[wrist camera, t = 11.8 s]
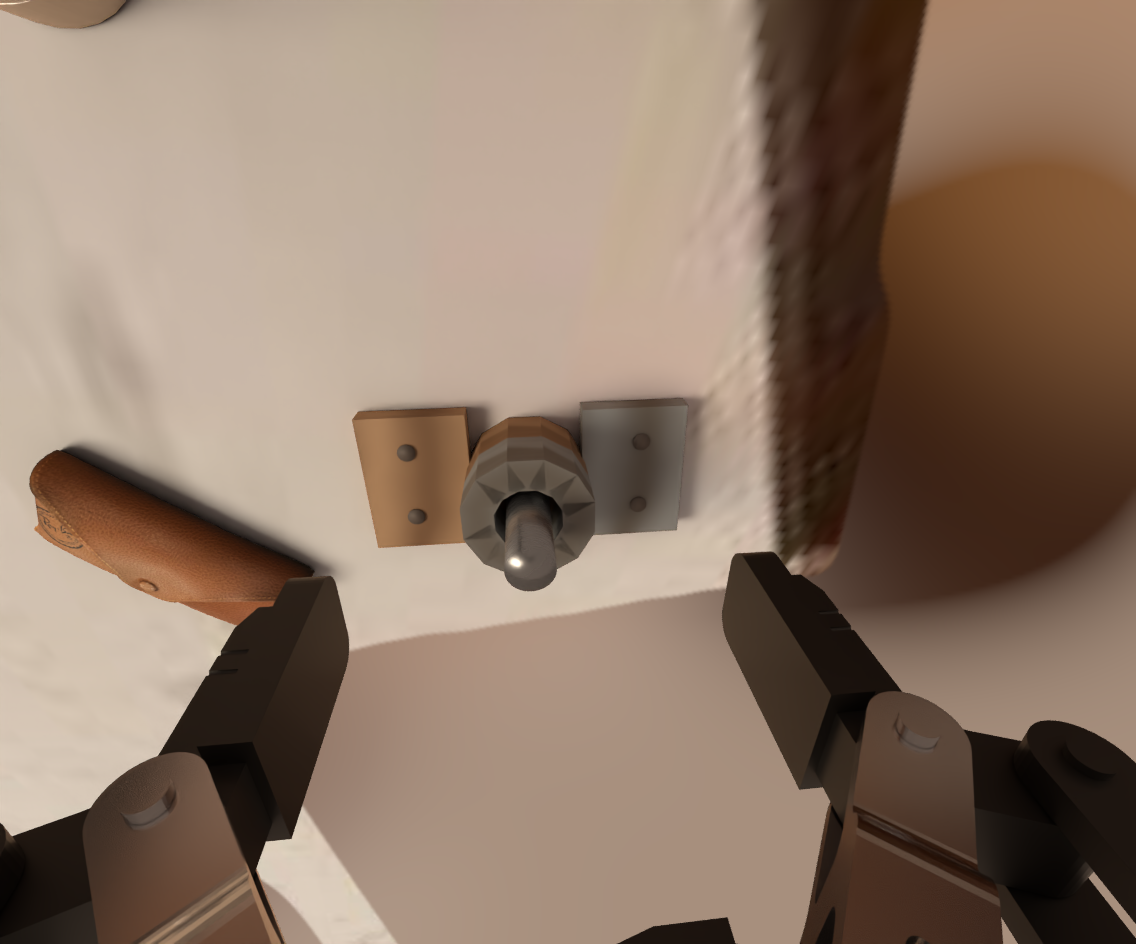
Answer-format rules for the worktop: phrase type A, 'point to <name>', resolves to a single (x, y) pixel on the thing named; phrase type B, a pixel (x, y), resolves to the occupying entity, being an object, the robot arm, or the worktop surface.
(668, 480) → the hinge leaves
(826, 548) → the worktop surface
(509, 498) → the hinge pin
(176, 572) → the sunglasses case
